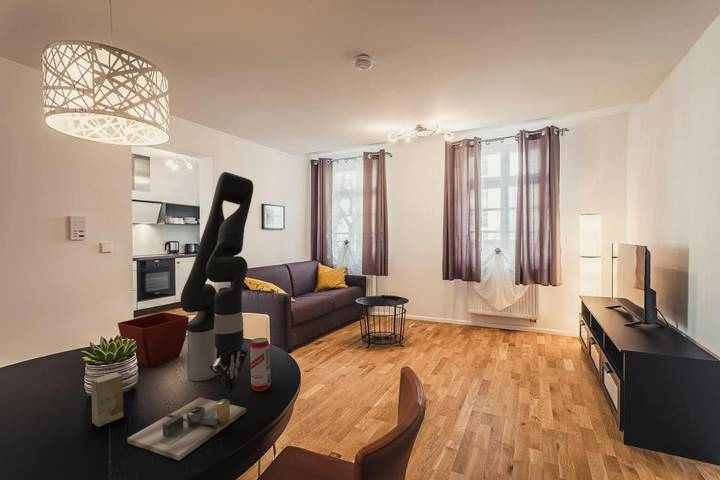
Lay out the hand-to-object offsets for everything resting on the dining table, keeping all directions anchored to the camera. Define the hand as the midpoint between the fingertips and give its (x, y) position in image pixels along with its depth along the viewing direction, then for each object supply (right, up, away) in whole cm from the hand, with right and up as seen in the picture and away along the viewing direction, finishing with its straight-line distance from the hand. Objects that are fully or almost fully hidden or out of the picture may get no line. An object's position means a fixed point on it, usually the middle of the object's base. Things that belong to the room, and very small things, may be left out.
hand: (230, 390), depth 95 cm
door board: (-9, -8, -3) cm, 13 cm away
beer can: (+3, -8, +19) cm, 20 cm away
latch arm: (-4, -6, -5) cm, 9 cm away
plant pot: (-48, -8, +46) cm, 67 cm away
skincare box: (-35, -9, +1) cm, 36 cm away
